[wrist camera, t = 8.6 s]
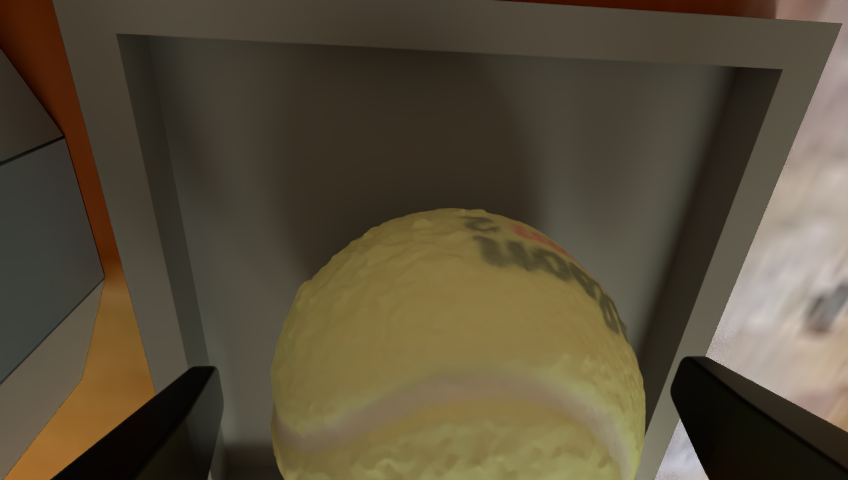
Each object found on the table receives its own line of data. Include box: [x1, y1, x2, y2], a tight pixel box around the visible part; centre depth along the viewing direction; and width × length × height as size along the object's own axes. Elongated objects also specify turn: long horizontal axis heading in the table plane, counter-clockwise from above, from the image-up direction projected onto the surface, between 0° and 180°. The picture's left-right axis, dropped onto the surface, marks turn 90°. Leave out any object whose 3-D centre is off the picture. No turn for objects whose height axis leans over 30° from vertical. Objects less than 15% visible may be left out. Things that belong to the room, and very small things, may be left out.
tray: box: [52, 0, 842, 480], centre depth 11 cm, size 13×13×2 cm
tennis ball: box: [270, 208, 646, 480], centre depth 9 cm, size 6×7×7 cm
